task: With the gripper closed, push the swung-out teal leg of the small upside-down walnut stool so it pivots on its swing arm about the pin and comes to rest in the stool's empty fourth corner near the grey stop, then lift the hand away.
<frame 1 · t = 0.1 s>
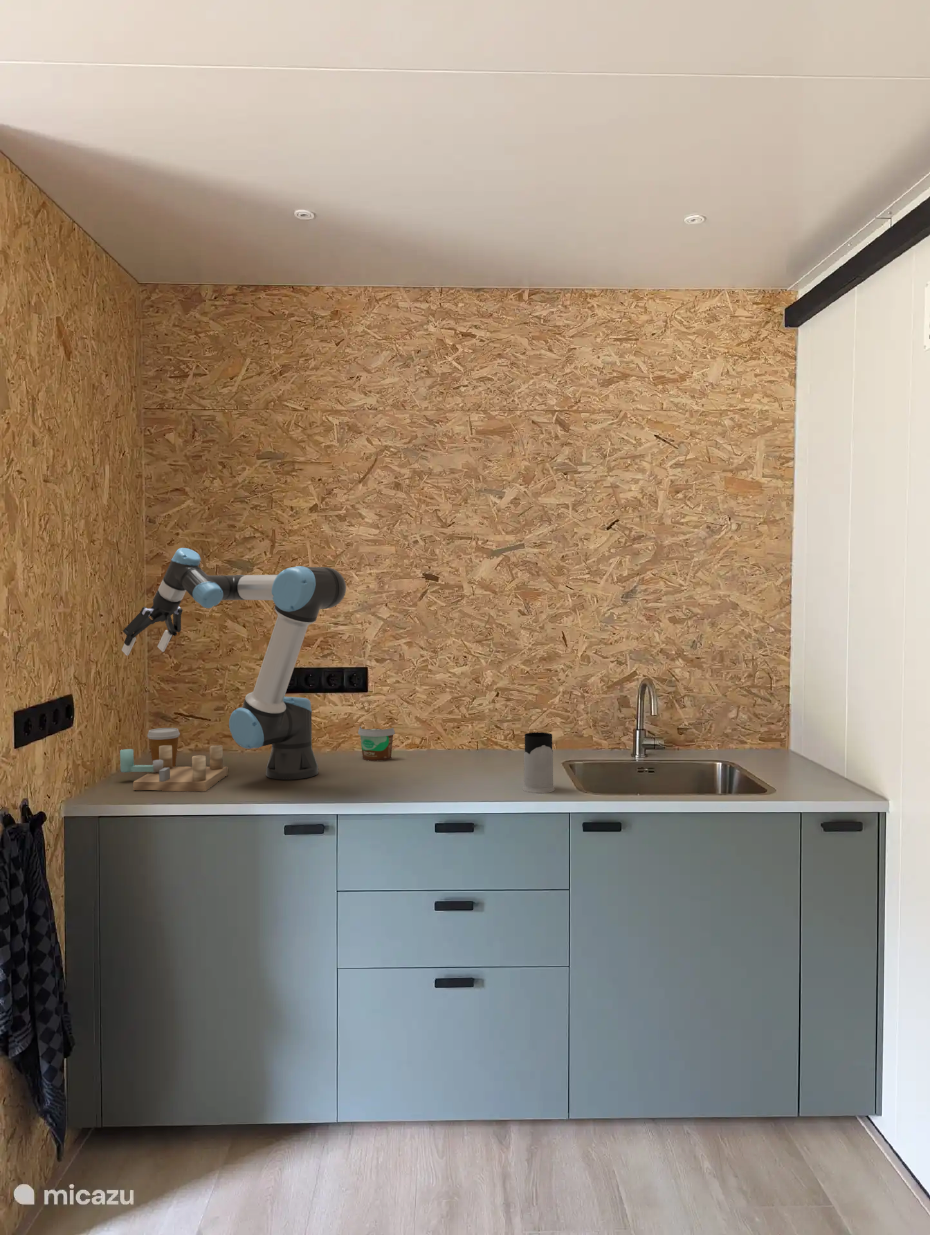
hand: (143, 651, 280), 36 cm above the worktop, tool tilted 35°, fingers open, 13 cm apart
food container: (373, 760, 290), on the worktop
hinged leg: (141, 760, 261), point 6 cm above the worktop, hinge at 0.0°
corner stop: (164, 788, 252), resting on stool seat
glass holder: (535, 787, 251), on the worktop
disposable coffee cup: (164, 769, 278), on the worktop
stool seat: (182, 782, 259), on the worktop
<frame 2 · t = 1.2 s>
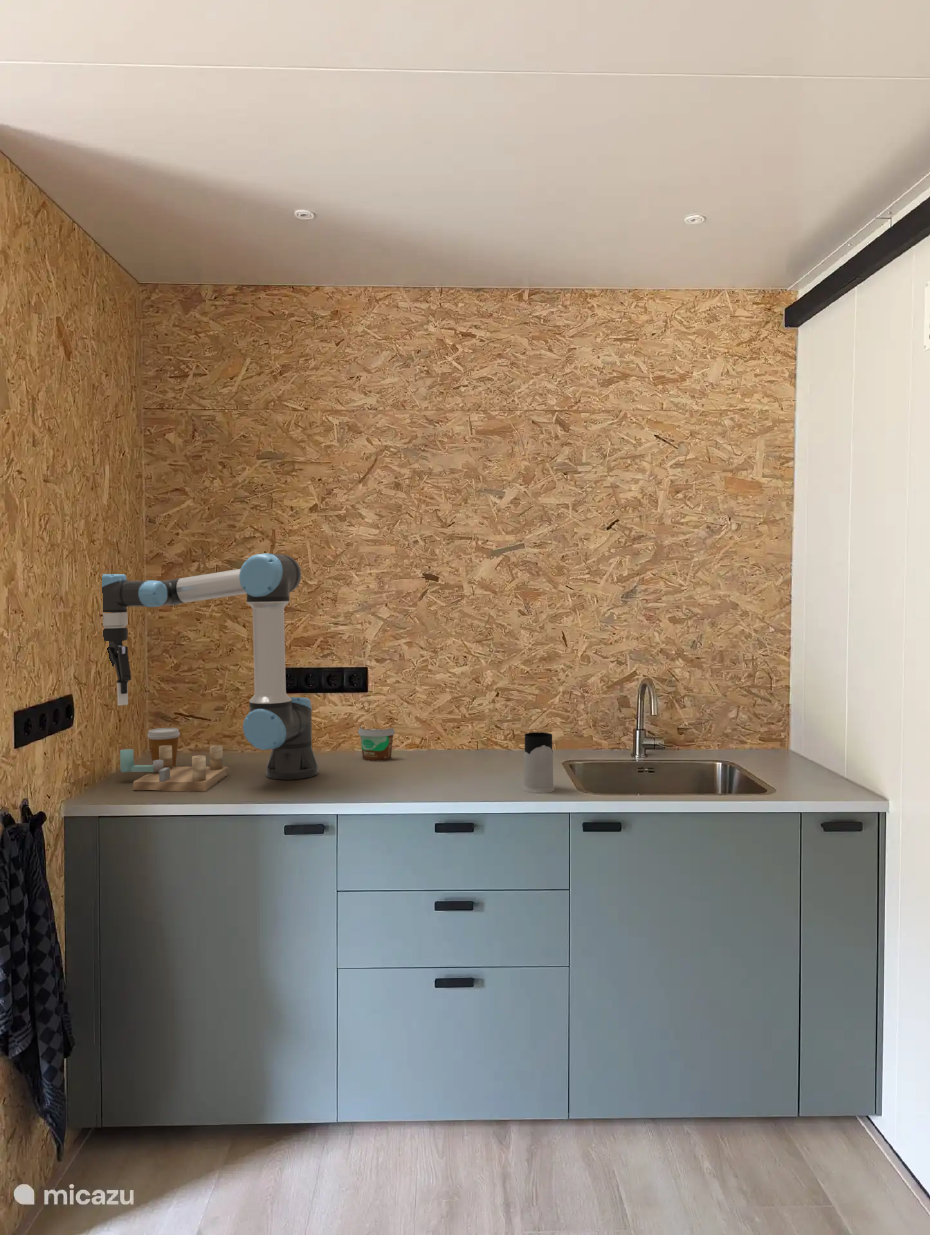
hand: (115, 703, 266), 22 cm above the worktop, tool pointing down, fingers open, 10 cm apart
nothing on the worktop moved.
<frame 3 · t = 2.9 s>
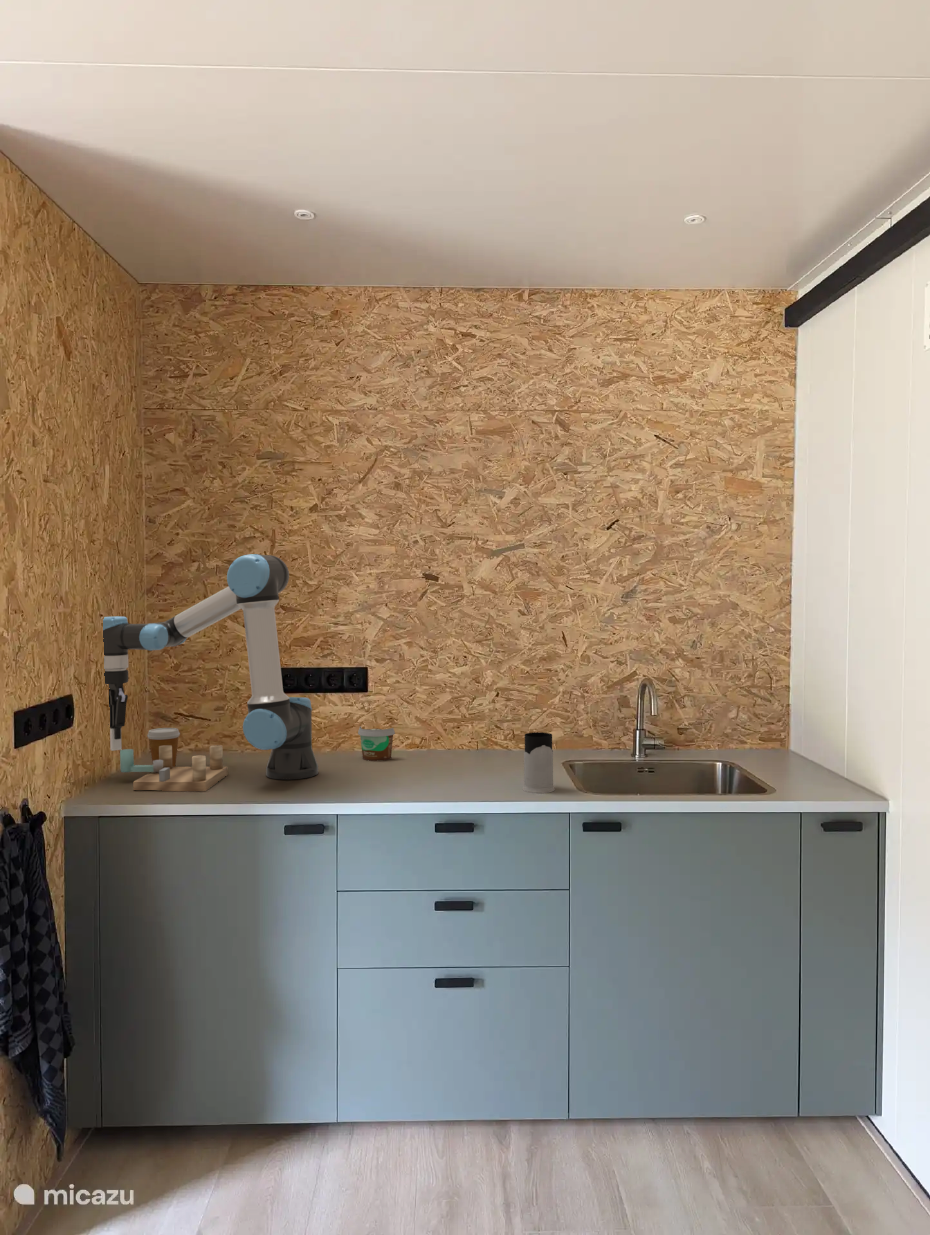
hand: (116, 749, 266), 8 cm above the worktop, tool pointing down, fingers closed
nothing on the worktop moved.
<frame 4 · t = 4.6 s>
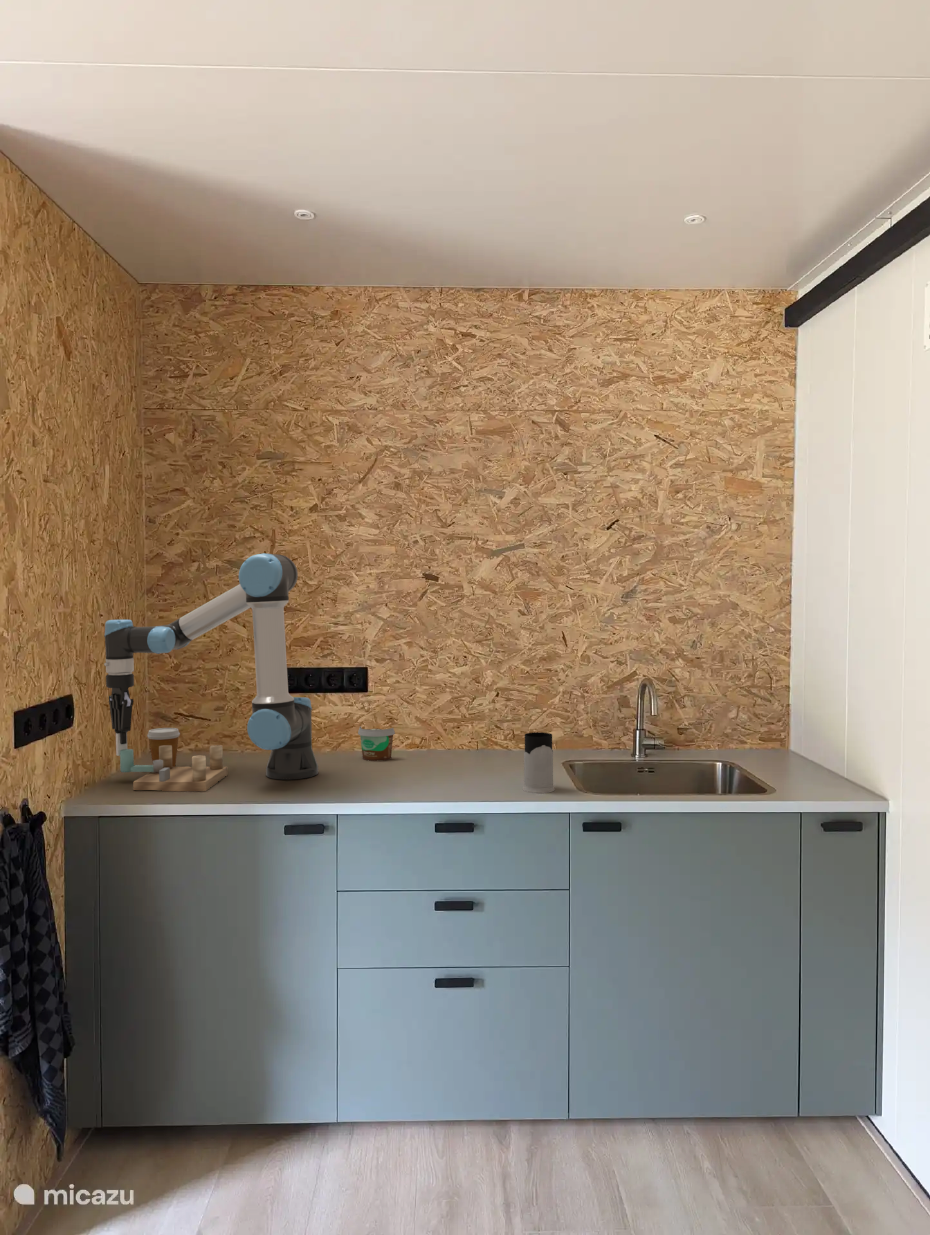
hand: (121, 754, 262), 7 cm above the worktop, tool pointing down, fingers closed
hinged leg: (141, 760, 261), point 6 cm above the worktop, hinge at 0.2°, touching gripper
everything else where it was.
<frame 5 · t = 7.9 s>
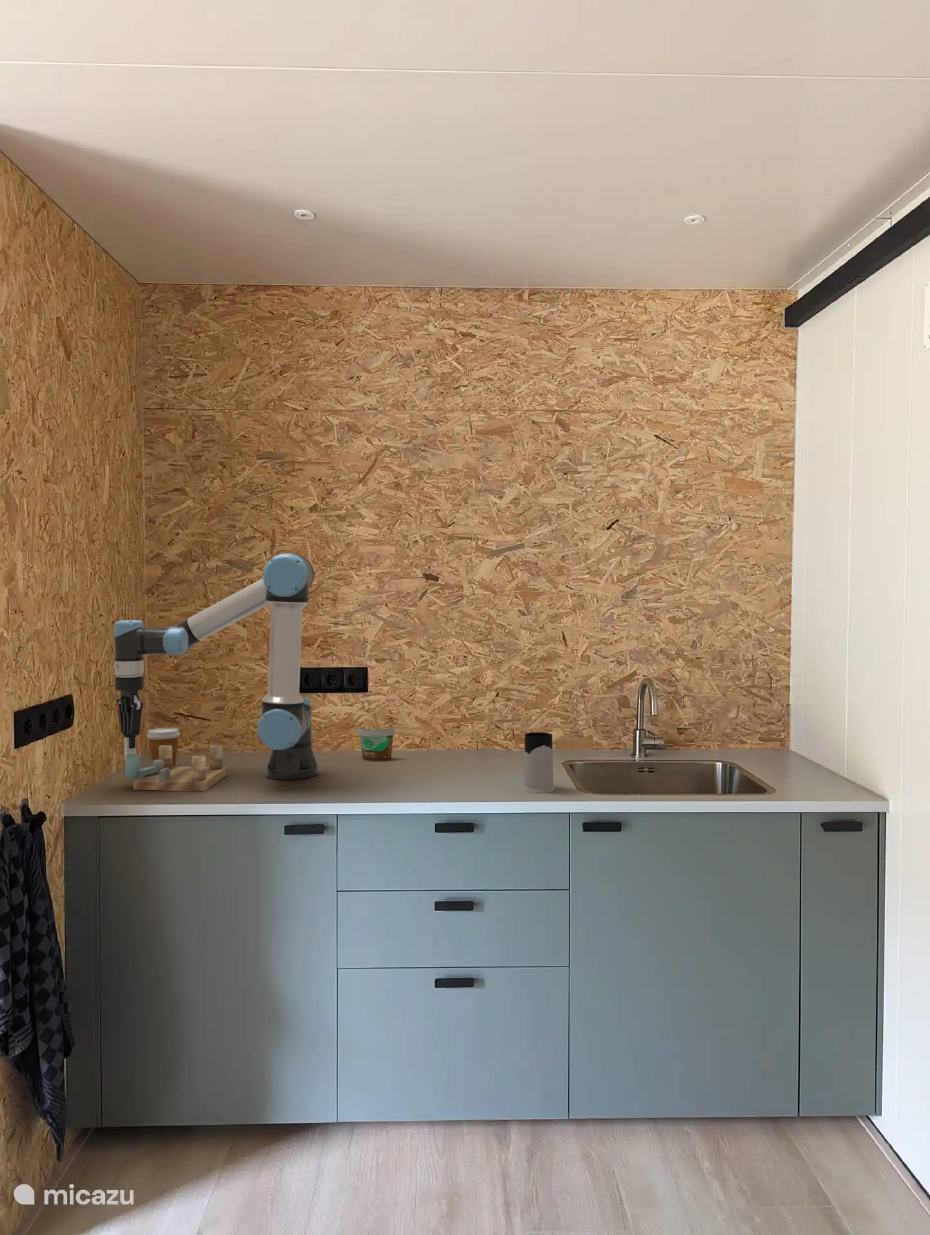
hand: (130, 759, 255), 8 cm above the worktop, tool pointing down, fingers closed
hinged leg: (144, 763, 256), point 6 cm above the worktop, hinge at 63.0°, touching gripper
everything else where it was.
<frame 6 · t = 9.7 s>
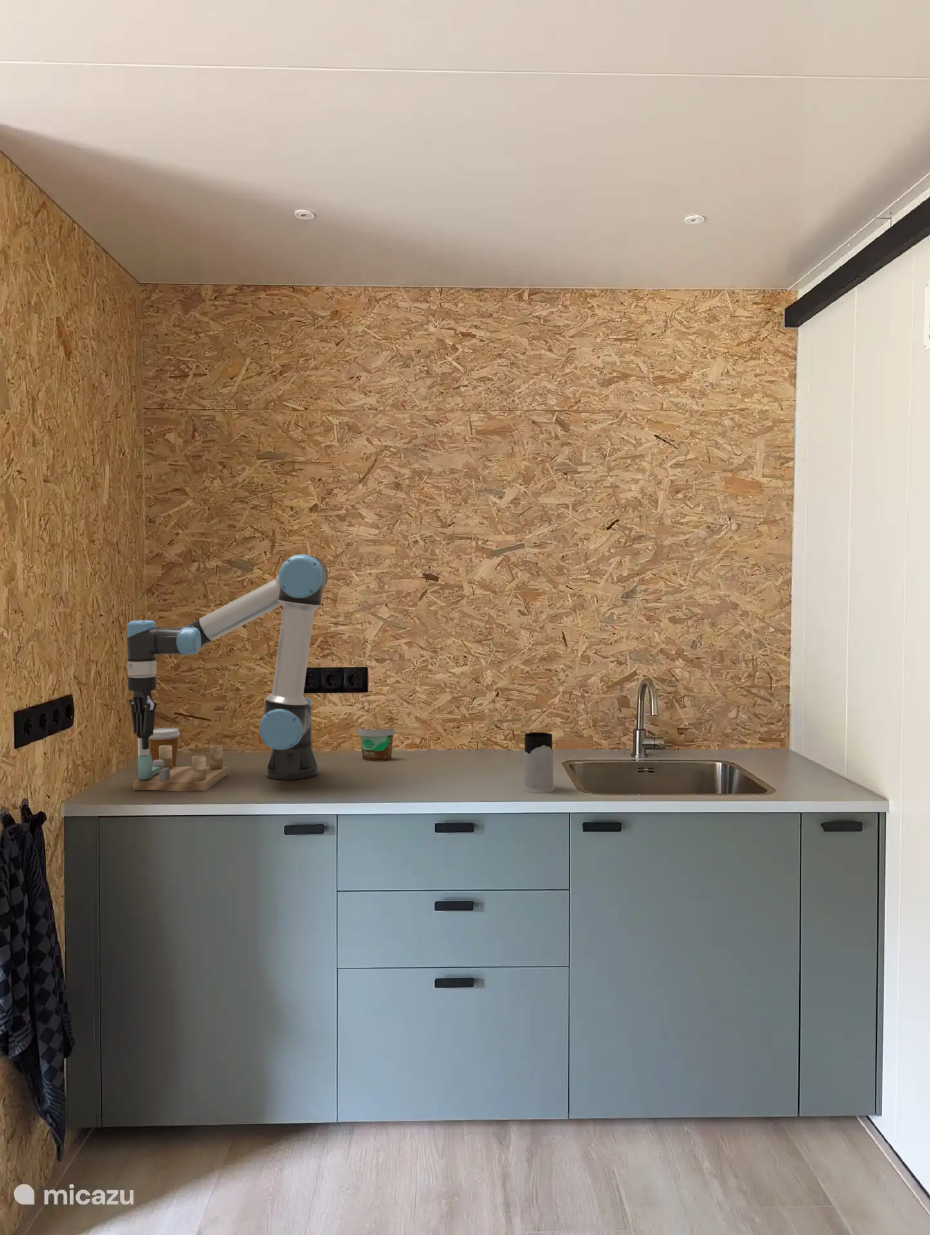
hand: (143, 760, 254), 7 cm above the worktop, tool pointing down, fingers closed
hinged leg: (151, 764, 256), point 6 cm above the worktop, hinge at 89.0°, touching gripper
everything else where it was.
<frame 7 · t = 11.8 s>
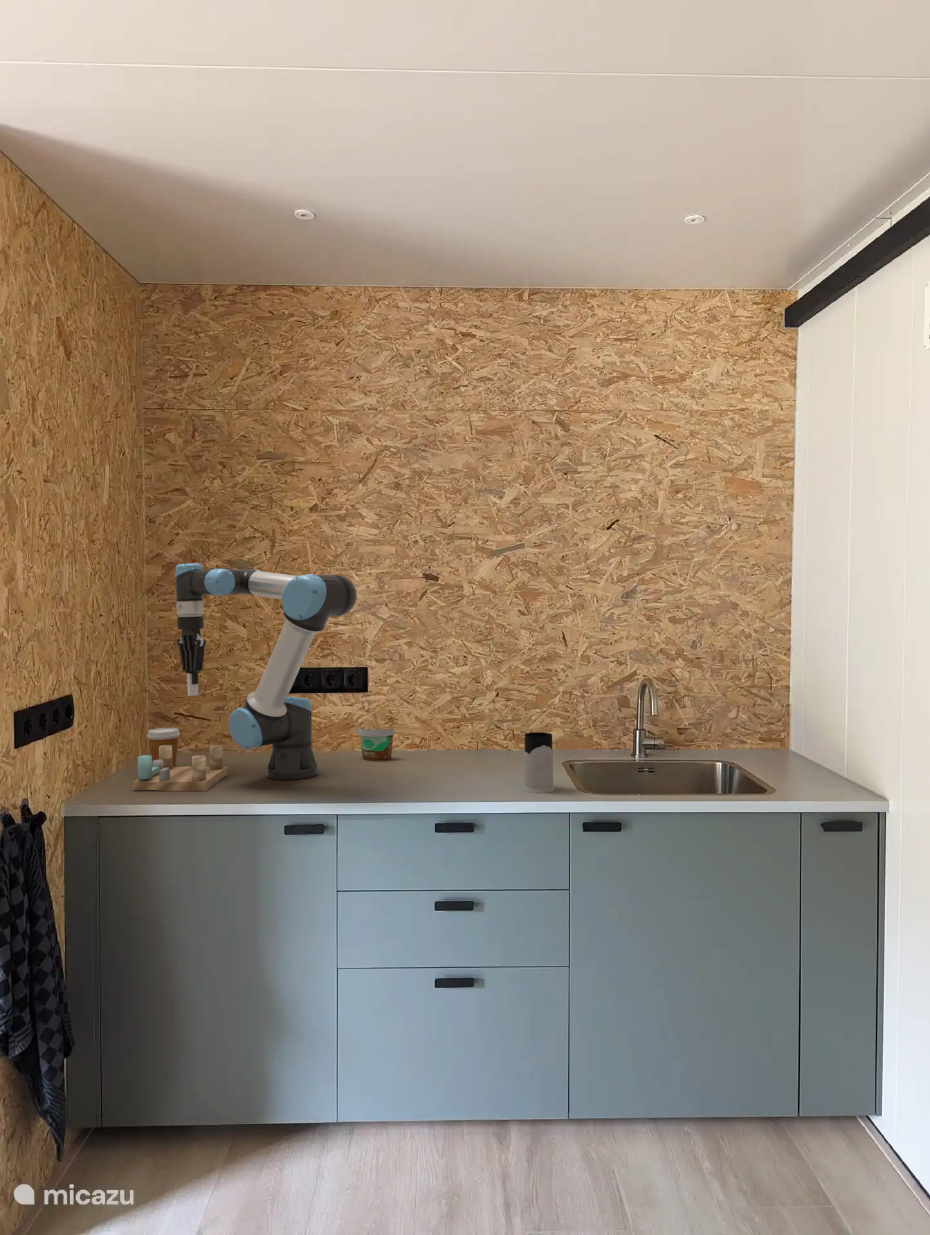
hand: (193, 695, 270), 23 cm above the worktop, tool pointing down, fingers closed
hinged leg: (151, 764, 256), point 6 cm above the worktop, hinge at 89.0°
everything else where it was.
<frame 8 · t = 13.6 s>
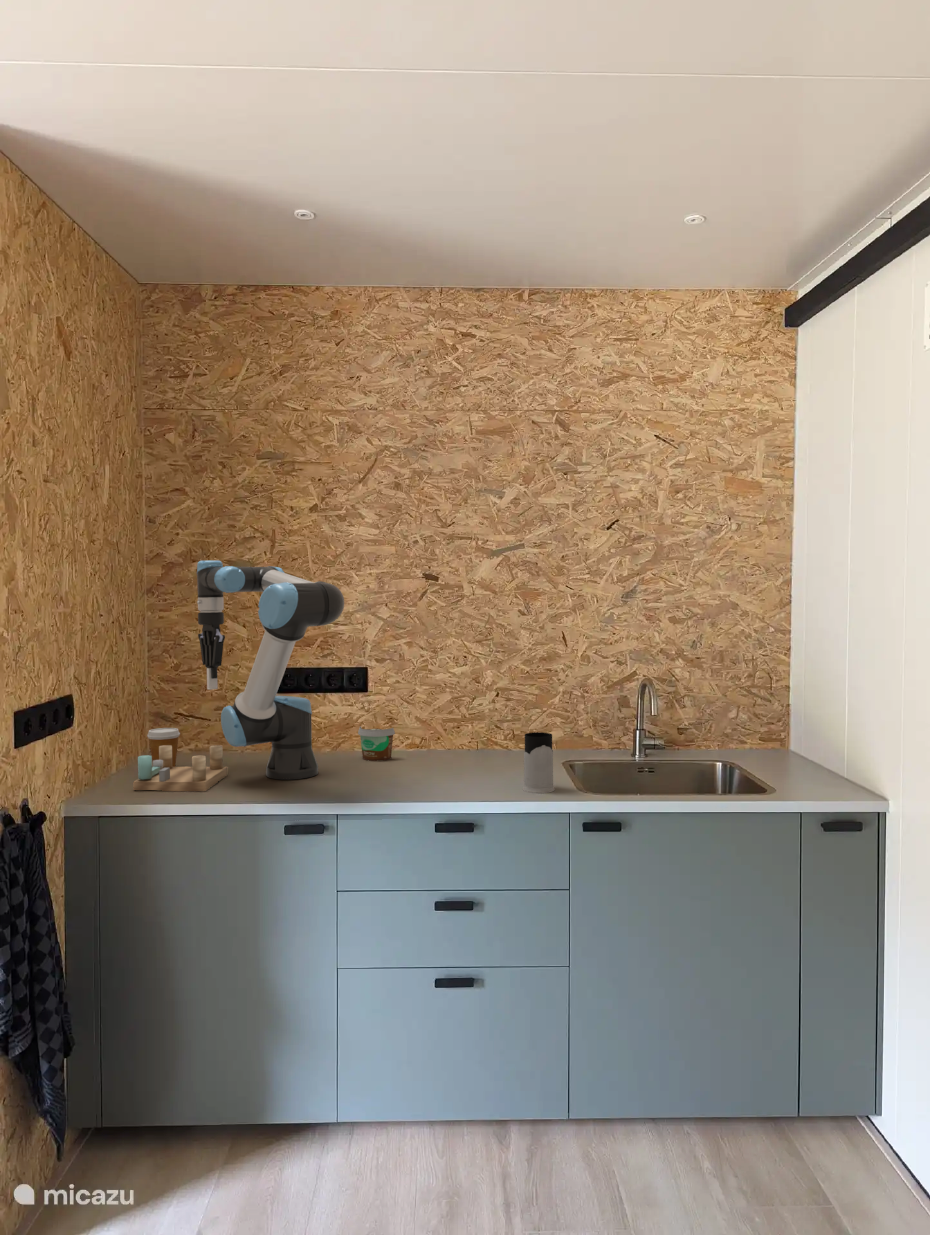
hand: (212, 689, 277), 24 cm above the worktop, tool pointing down, fingers closed
nothing on the worktop moved.
at the end: hinged leg at +89° (first picture: +0°); the gripper is holding nothing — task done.
